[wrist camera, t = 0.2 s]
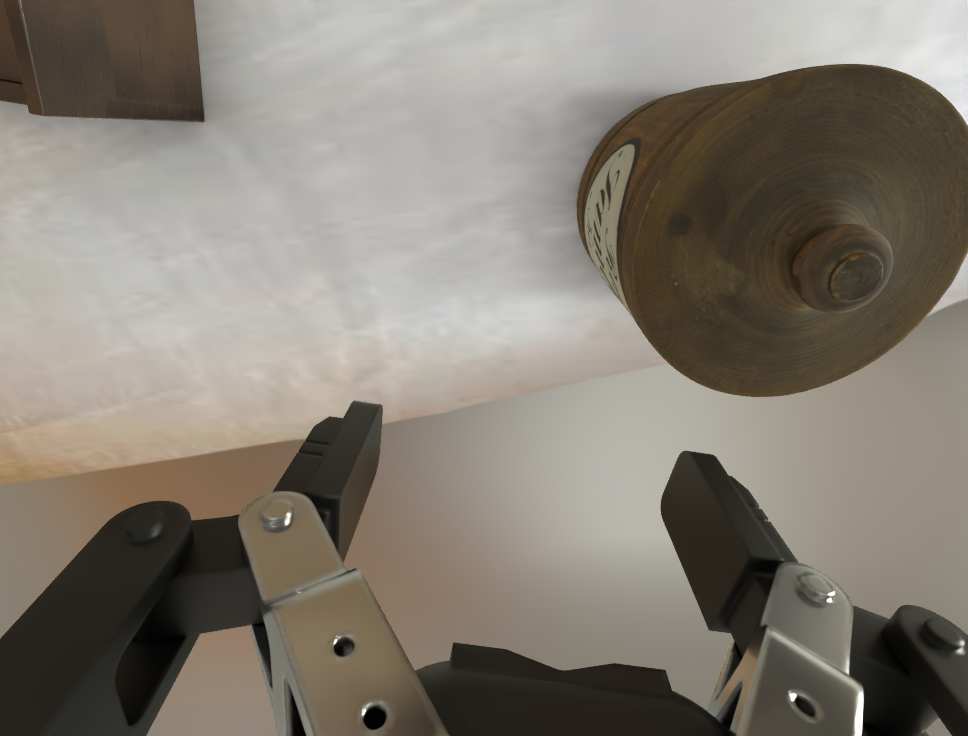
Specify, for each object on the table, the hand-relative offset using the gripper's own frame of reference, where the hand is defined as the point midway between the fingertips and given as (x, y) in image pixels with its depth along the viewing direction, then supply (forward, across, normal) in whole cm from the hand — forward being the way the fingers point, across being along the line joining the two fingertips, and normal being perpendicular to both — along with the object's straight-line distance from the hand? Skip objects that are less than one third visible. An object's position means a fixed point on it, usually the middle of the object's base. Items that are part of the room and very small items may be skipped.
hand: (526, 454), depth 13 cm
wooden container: (+29, -12, -5) cm, 32 cm away
